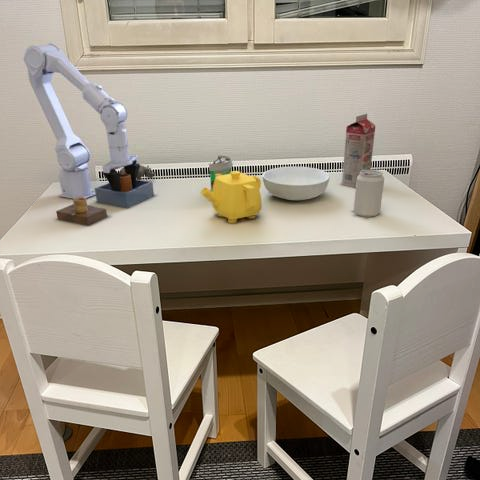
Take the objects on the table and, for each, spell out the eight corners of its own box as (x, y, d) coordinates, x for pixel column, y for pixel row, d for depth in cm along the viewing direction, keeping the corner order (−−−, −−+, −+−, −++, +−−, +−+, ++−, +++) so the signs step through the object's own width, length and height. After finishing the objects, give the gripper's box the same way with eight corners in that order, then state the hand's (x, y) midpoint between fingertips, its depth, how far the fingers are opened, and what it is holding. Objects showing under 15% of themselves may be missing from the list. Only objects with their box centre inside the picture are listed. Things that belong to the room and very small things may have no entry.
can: (348, 211, 148) (352, 170, 142) (369, 207, 150) (374, 167, 144) (363, 219, 142) (367, 176, 136) (385, 215, 144) (390, 173, 138)
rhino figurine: (159, 181, 179) (157, 164, 176) (121, 187, 174) (119, 169, 171) (155, 178, 183) (153, 161, 179) (118, 184, 177) (115, 167, 174)
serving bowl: (281, 211, 149) (282, 188, 146) (251, 192, 166) (251, 171, 162) (341, 200, 156) (343, 178, 153) (306, 183, 173) (307, 163, 169)
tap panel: (55, 220, 147) (53, 211, 146) (77, 211, 154) (75, 202, 152) (86, 226, 142) (84, 217, 141) (107, 216, 148) (106, 208, 147)
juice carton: (341, 184, 171) (347, 115, 160) (351, 180, 175) (358, 112, 164) (359, 188, 167) (366, 117, 156) (369, 183, 172) (376, 114, 160)
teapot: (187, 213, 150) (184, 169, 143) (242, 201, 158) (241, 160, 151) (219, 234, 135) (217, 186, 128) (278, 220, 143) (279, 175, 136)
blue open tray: (97, 202, 160) (94, 188, 158) (124, 191, 170) (122, 177, 168) (127, 208, 155) (125, 193, 153) (154, 195, 165) (152, 181, 163)
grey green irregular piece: (229, 196, 163) (227, 164, 157) (210, 195, 164) (208, 164, 159) (236, 185, 173) (236, 155, 168) (219, 184, 174) (218, 155, 169)
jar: (115, 198, 162) (112, 176, 158) (125, 194, 165) (122, 172, 161) (126, 200, 160) (123, 178, 156) (136, 196, 163) (133, 174, 159)
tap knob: (72, 212, 145) (69, 199, 143) (81, 208, 148) (79, 195, 146) (81, 213, 144) (79, 200, 142) (90, 210, 146) (88, 197, 144)
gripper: (112, 152, 147) (119, 198, 154) (143, 142, 158) (148, 185, 165) (94, 150, 150) (101, 195, 157) (126, 140, 161) (131, 183, 168)
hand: (124, 190), depth 161 cm, fingers open, 7 cm apart
